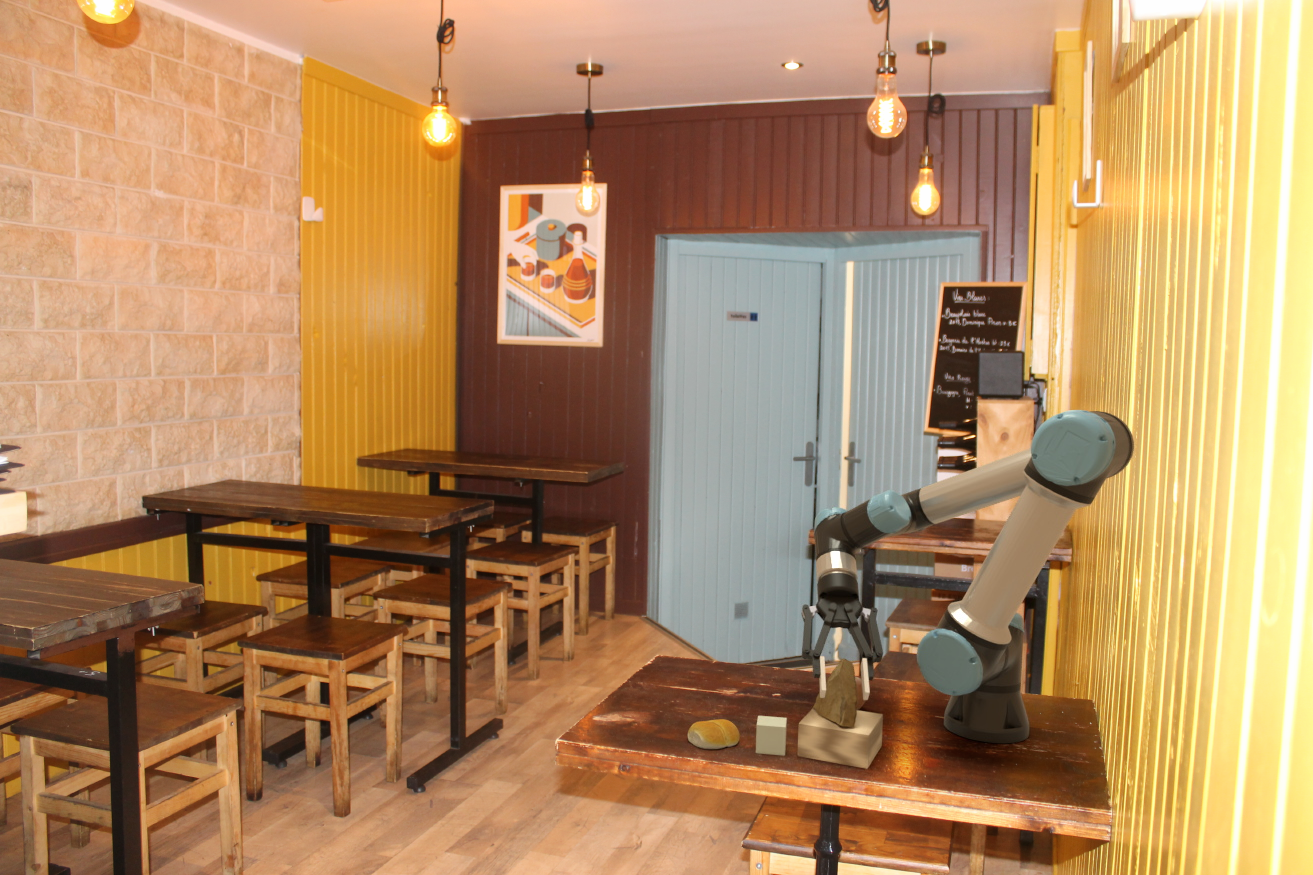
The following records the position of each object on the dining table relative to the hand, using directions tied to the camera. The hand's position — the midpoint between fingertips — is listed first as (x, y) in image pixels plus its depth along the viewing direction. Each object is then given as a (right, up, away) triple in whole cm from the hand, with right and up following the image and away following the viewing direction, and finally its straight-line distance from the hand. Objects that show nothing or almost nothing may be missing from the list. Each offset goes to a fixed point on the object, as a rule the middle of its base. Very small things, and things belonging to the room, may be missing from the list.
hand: (844, 694), depth 165 cm
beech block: (0, -11, +4) cm, 12 cm away
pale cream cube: (-12, -11, +4) cm, 17 cm away
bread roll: (-22, -11, +7) cm, 25 cm away
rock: (-1, -5, +4) cm, 7 cm away
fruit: (+6, -10, +27) cm, 29 cm away
